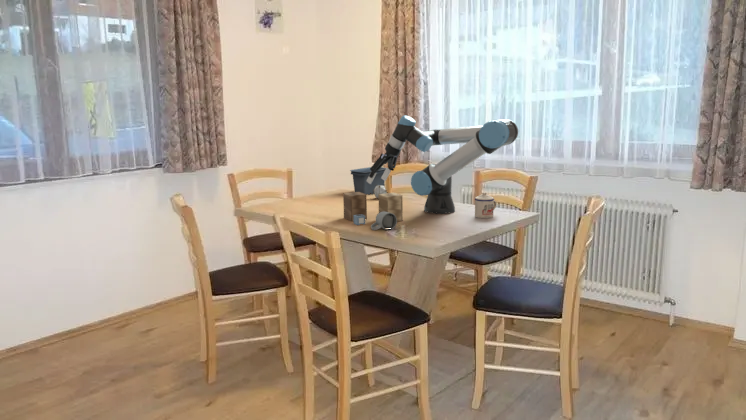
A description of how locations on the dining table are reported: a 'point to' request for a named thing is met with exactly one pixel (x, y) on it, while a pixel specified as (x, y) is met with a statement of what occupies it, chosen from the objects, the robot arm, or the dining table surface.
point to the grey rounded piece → (379, 190)
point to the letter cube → (359, 219)
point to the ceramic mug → (384, 221)
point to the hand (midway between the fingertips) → (375, 181)
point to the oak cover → (391, 204)
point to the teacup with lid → (484, 206)
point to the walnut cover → (354, 205)
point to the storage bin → (361, 180)
